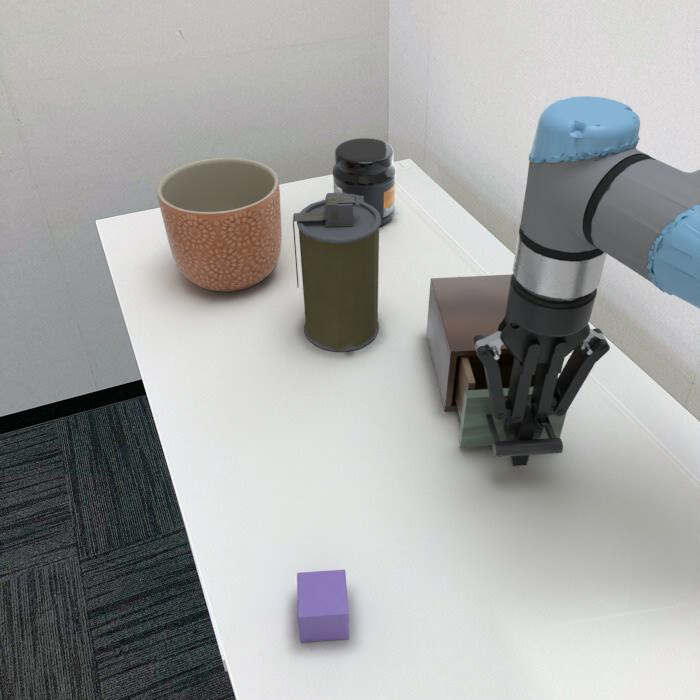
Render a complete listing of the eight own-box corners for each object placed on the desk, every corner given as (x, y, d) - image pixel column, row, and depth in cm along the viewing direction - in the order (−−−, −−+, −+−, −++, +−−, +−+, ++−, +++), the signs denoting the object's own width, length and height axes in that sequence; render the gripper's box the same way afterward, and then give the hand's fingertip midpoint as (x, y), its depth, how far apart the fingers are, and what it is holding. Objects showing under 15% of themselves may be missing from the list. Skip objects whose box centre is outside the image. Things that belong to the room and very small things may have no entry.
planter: (173, 311, 102) (153, 218, 92) (177, 249, 114) (159, 161, 105) (290, 299, 104) (283, 207, 94) (281, 239, 116) (274, 152, 106)
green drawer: (574, 480, 76) (589, 430, 71) (470, 486, 76) (477, 437, 71) (528, 363, 91) (538, 315, 86) (440, 368, 90) (445, 320, 85)
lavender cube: (349, 639, 64) (348, 614, 61) (300, 642, 64) (297, 617, 61) (346, 595, 67) (345, 569, 64) (299, 598, 67) (297, 572, 64)
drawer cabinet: (546, 405, 86) (560, 345, 80) (444, 411, 86) (450, 351, 79) (516, 331, 97) (527, 273, 91) (426, 336, 97) (430, 278, 91)
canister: (376, 304, 102) (378, 177, 89) (381, 351, 94) (384, 219, 82) (301, 307, 102) (292, 180, 89) (300, 353, 94) (290, 221, 81)
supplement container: (403, 207, 124) (406, 142, 116) (380, 236, 117) (381, 169, 109) (349, 196, 128) (348, 132, 120) (323, 223, 120) (320, 157, 113)
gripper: (611, 252, 66) (565, 428, 81) (473, 259, 65) (452, 434, 80) (642, 300, 60) (586, 479, 75) (491, 307, 59) (464, 486, 75)
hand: (517, 455), depth 78 cm, fingers closed
